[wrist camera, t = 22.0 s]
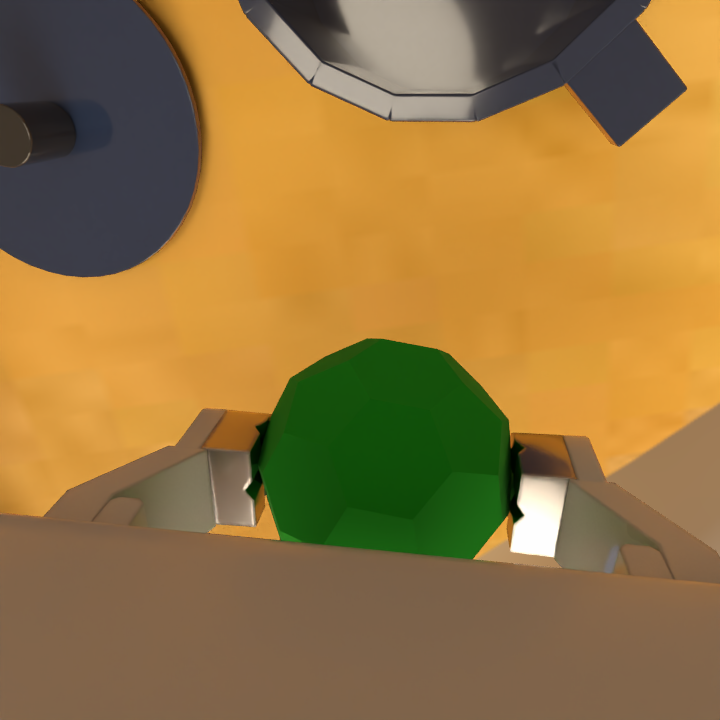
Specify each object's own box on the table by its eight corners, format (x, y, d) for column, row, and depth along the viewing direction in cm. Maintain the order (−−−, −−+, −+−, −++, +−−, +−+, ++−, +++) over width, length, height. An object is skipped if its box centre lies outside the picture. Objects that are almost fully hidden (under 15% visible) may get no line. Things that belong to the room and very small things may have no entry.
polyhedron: (548, 414, 14) (595, 567, 9) (394, 522, 16) (374, 691, 11) (396, 259, 13) (370, 352, 8) (250, 395, 14) (168, 529, 10)
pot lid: (103, 323, 34) (56, 356, 30) (-123, 128, 31) (-211, 136, 27) (267, 128, 28) (236, 136, 24) (10, -134, 25) (-75, -175, 21)
